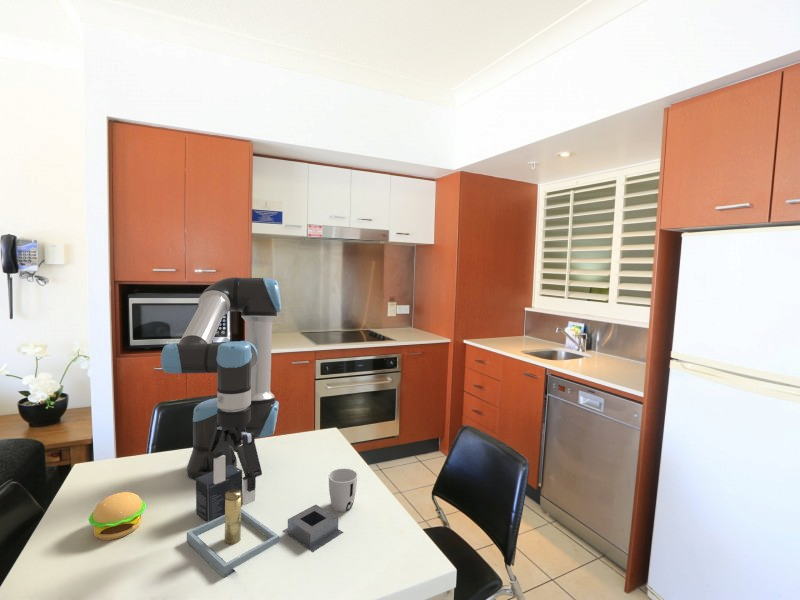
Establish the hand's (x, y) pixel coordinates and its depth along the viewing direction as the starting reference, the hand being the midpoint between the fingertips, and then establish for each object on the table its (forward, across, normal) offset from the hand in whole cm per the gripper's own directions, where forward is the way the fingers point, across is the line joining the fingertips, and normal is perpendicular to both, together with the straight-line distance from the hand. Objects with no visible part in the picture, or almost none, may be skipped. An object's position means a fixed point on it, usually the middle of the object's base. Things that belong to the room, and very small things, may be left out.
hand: (233, 491), depth 100 cm
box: (+14, -16, +5) cm, 21 cm away
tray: (+13, 0, 0) cm, 13 cm away
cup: (+13, +10, +28) cm, 32 cm away
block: (+13, +12, +15) cm, 23 cm away
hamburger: (+13, -26, -16) cm, 34 cm away
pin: (+12, 0, 0) cm, 12 cm away
